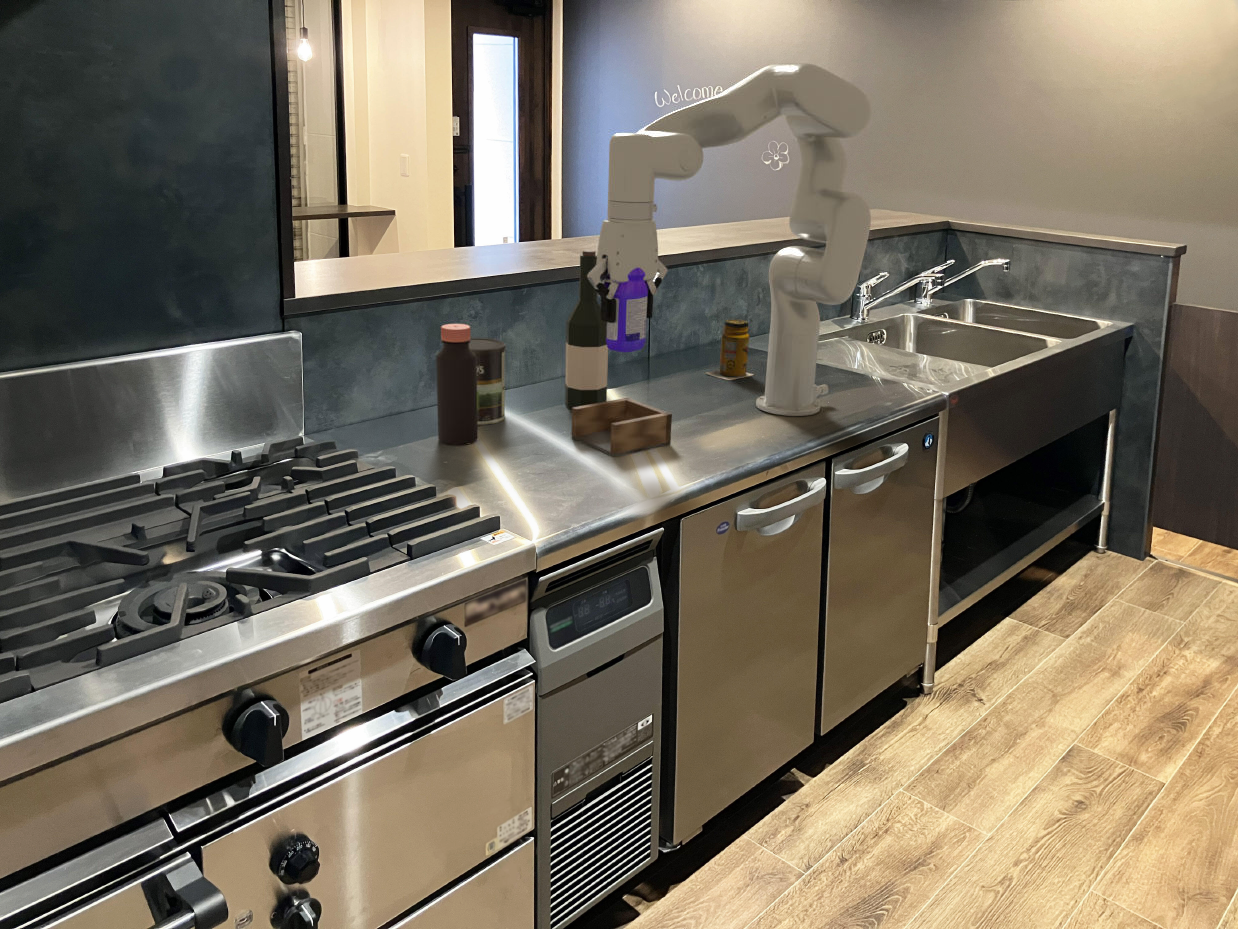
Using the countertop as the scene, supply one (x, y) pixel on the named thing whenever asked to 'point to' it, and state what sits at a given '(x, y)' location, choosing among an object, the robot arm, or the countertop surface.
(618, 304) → the bottle
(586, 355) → the wine bottle
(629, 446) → the u rest
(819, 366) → the countertop surface
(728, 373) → the condiment
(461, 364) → the vinegar
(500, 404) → the coffee can
